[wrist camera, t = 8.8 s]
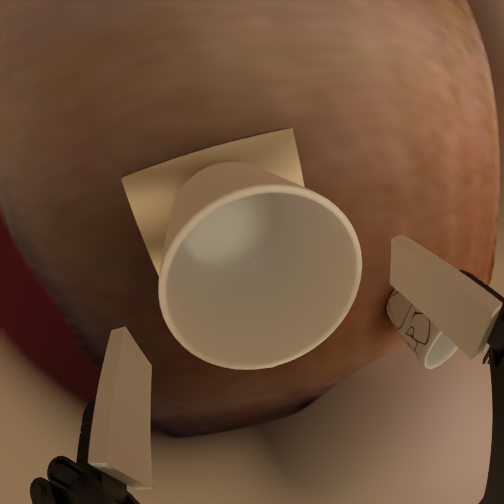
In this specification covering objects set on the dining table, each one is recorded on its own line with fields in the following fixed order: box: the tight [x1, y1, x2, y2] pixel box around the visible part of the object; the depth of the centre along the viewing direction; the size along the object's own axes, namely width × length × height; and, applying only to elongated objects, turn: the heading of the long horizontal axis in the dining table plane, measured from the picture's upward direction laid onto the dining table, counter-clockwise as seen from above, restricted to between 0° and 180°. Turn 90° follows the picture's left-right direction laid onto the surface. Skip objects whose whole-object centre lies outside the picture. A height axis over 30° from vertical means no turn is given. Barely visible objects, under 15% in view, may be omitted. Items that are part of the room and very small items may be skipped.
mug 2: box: [387, 289, 458, 369], centre depth 29 cm, size 11×8×10 cm
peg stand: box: [121, 128, 304, 275], centre depth 22 cm, size 14×14×4 cm
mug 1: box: [158, 162, 362, 370], centre depth 16 cm, size 12×8×10 cm
